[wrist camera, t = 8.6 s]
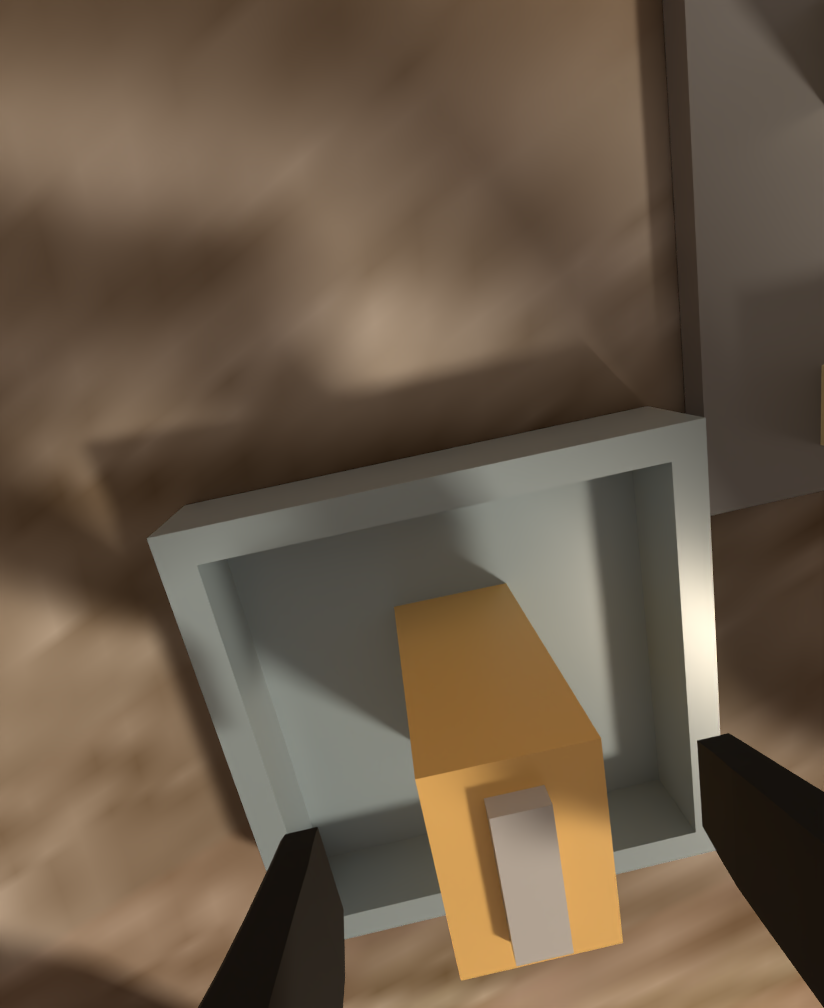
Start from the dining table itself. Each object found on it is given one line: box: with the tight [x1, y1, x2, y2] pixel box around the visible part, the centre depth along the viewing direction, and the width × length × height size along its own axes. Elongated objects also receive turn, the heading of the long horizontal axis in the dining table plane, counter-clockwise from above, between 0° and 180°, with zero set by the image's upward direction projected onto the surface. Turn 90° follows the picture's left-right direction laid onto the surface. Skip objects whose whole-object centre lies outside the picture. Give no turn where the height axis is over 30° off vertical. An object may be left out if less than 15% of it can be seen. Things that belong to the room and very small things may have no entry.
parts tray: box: [147, 406, 720, 939], centre depth 14 cm, size 12×12×2 cm
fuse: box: [394, 583, 623, 981], centre depth 12 cm, size 4×3×6 cm, turn 11°
